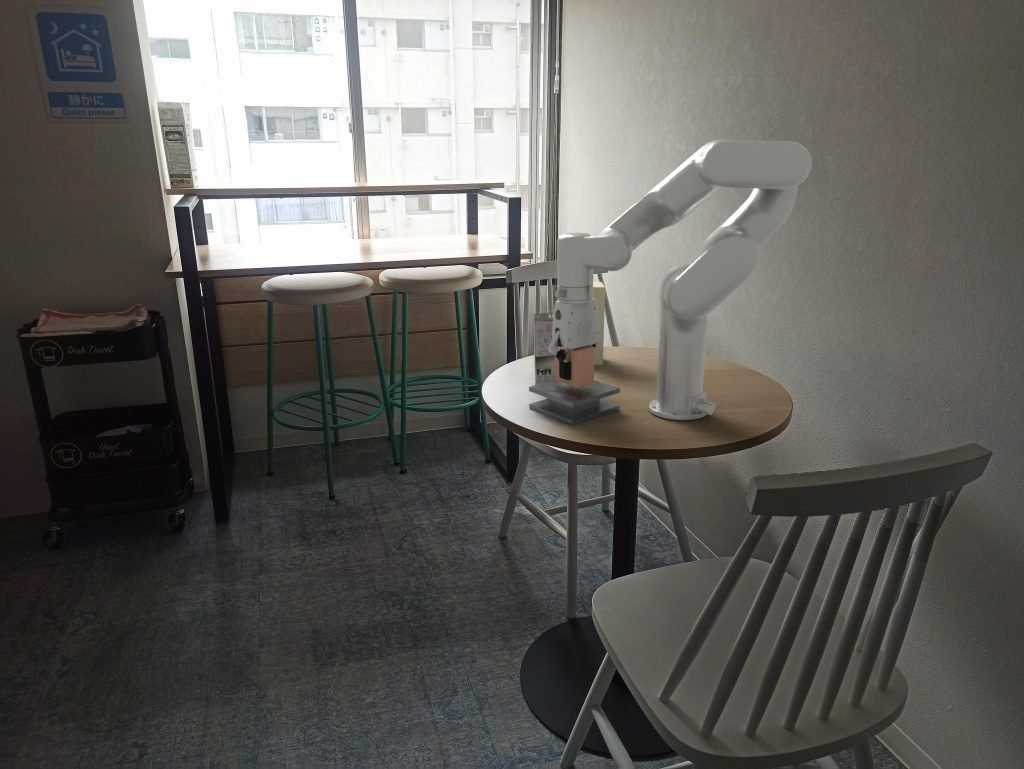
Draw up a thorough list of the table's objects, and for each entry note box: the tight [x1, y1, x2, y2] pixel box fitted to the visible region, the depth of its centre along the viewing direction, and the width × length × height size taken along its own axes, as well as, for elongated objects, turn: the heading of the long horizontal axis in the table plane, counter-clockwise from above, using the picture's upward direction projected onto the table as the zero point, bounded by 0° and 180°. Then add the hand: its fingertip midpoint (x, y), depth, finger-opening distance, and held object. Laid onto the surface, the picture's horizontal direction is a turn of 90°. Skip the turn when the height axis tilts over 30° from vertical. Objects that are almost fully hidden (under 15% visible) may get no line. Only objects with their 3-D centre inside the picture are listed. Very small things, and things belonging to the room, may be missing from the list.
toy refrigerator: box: [593, 281, 606, 366], centre depth 191 cm, size 8×7×21 cm
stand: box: [528, 379, 621, 426], centre depth 159 cm, size 14×14×5 cm
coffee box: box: [533, 312, 555, 385], centre depth 178 cm, size 9×6×16 cm
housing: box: [555, 346, 595, 388], centre depth 156 cm, size 7×5×9 cm
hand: (574, 375), depth 157 cm, fingers closed on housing, 4 cm apart
